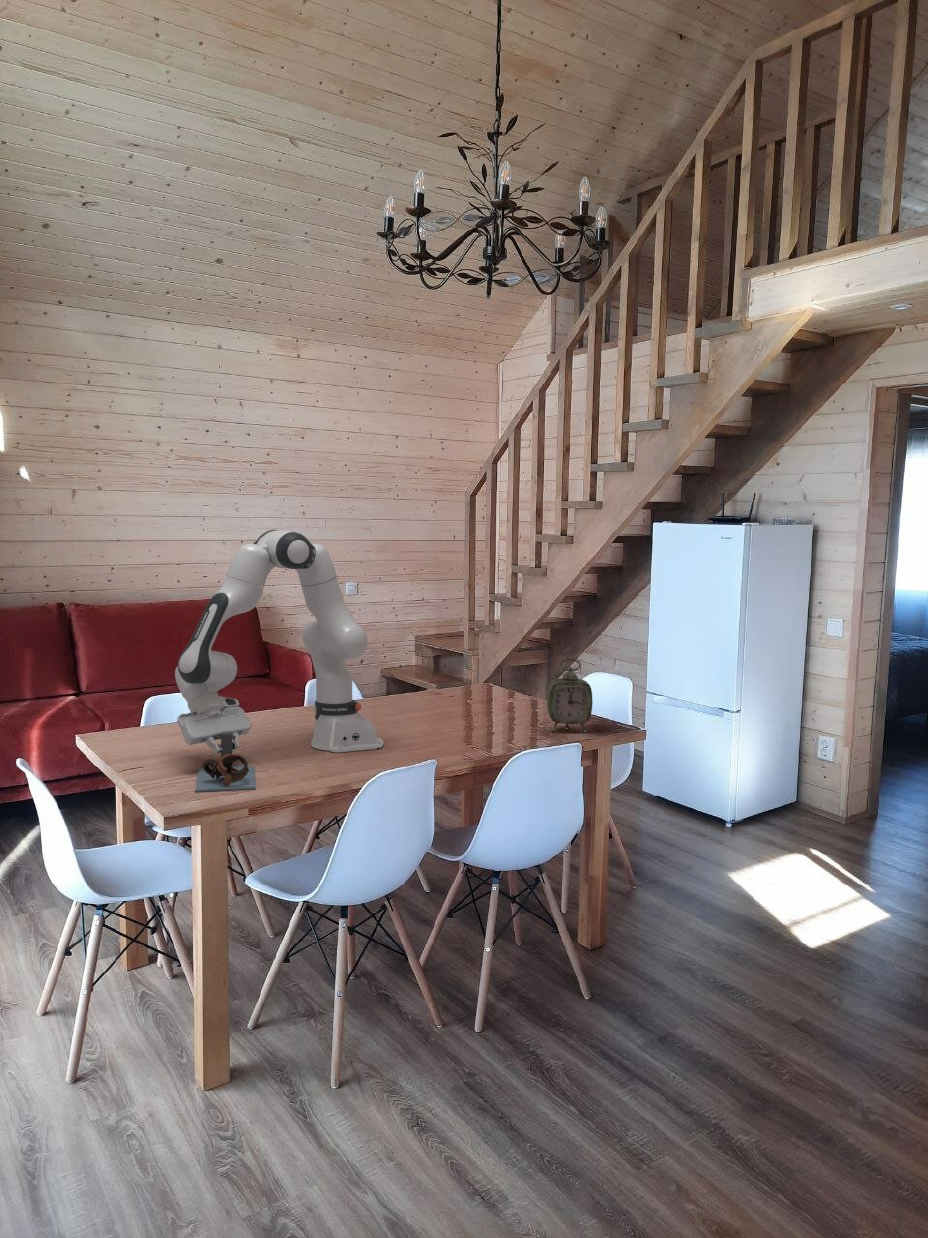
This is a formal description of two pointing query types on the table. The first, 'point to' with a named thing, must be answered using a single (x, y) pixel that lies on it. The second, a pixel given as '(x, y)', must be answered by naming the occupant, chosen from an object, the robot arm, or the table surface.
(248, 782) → the grey base with post
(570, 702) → the tabletop clock
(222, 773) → the brown looped bands
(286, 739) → the table surface
